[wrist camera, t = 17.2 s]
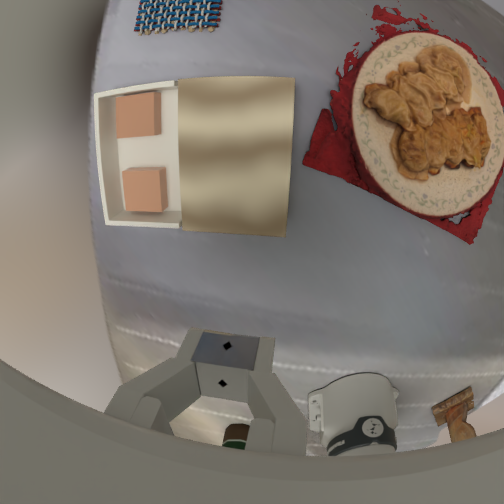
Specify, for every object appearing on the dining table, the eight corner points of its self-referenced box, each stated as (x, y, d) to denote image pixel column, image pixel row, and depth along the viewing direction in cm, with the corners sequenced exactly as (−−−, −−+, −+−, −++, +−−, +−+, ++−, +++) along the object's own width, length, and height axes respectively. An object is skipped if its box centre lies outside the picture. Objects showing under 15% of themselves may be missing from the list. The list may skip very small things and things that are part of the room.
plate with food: (464, 240, 33) (477, 251, 30) (300, 162, 31) (303, 167, 28) (518, 97, 22) (533, 99, 19) (365, -13, 20) (374, -24, 17)
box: (195, 214, 35) (184, 228, 31) (122, 212, 36) (105, 224, 32) (193, 83, 28) (179, 79, 24) (114, 93, 29) (94, 93, 25)
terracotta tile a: (125, 210, 33) (133, 205, 35) (162, 212, 33) (168, 206, 34) (121, 171, 31) (129, 167, 33) (159, 170, 30) (165, 166, 32)
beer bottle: (225, 434, 61) (208, 518, 40) (225, 420, 57) (206, 514, 36) (257, 438, 60) (245, 523, 39) (260, 425, 57) (248, 519, 36)
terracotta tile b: (116, 138, 29) (125, 136, 31) (154, 135, 29) (161, 133, 30) (115, 97, 27) (124, 97, 28) (153, 92, 26) (161, 92, 28)
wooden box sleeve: (285, 219, 34) (285, 237, 30) (195, 214, 35) (182, 230, 31) (293, 83, 27) (295, 78, 23) (193, 83, 28) (178, 79, 23)
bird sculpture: (474, 400, 50) (503, 498, 22) (436, 421, 54) (457, 521, 26) (469, 384, 47) (506, 496, 18) (428, 408, 51) (452, 522, 23)
